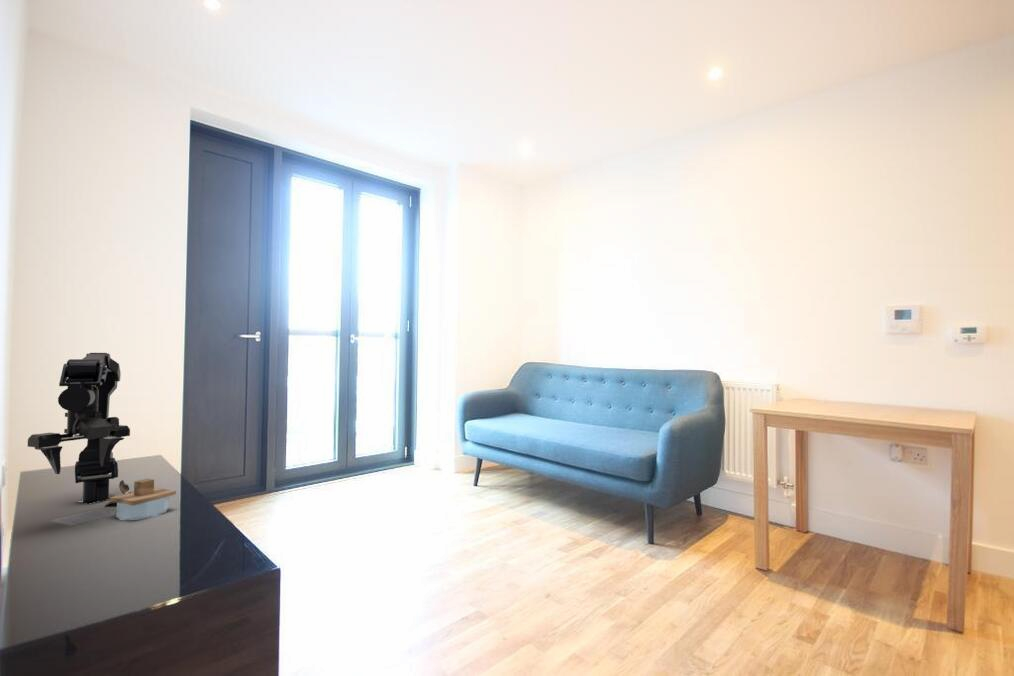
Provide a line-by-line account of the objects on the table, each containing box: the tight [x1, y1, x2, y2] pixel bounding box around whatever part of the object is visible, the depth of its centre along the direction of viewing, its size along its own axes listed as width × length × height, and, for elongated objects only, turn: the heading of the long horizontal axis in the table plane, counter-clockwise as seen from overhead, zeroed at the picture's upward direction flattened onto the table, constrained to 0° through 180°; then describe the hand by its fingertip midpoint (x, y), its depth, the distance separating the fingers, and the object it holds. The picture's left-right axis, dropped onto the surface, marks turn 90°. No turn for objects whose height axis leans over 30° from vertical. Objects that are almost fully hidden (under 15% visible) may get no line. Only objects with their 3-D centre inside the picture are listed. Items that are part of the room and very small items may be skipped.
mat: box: [51, 508, 117, 527], centre depth 118 cm, size 10×10×1 cm
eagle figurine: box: [104, 479, 132, 507], centre depth 130 cm, size 8×7×9 cm
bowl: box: [116, 496, 170, 521], centre depth 120 cm, size 10×10×4 cm
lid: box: [109, 478, 177, 505], centre depth 120 cm, size 10×10×4 cm
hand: (81, 469), depth 116 cm, fingers open, 9 cm apart
